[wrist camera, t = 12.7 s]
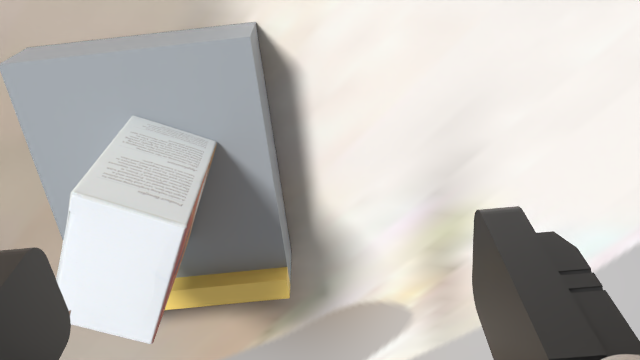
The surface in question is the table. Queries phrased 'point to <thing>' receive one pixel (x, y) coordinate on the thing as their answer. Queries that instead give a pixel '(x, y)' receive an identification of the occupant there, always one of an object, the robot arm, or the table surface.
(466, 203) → the table surface
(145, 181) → the small box
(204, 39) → the platform
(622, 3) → the table surface
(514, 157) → the table surface
